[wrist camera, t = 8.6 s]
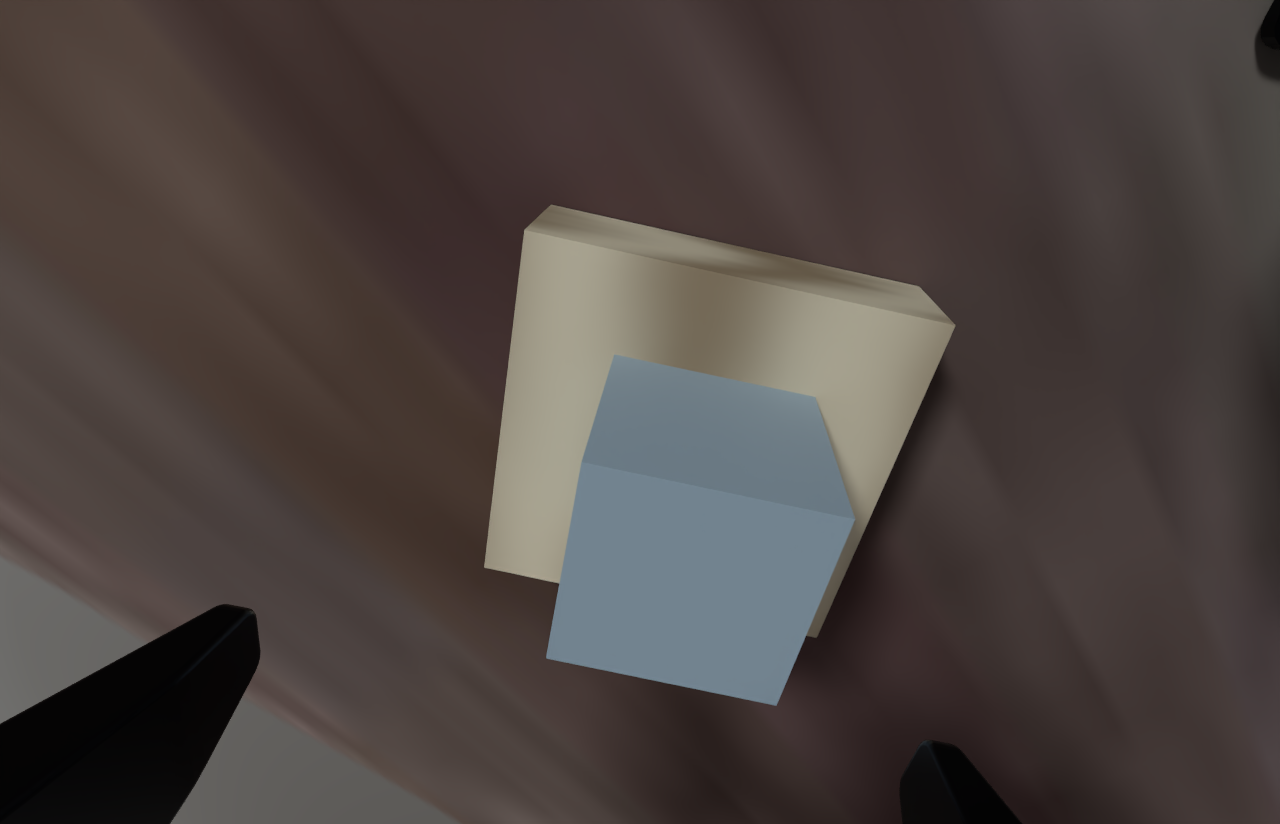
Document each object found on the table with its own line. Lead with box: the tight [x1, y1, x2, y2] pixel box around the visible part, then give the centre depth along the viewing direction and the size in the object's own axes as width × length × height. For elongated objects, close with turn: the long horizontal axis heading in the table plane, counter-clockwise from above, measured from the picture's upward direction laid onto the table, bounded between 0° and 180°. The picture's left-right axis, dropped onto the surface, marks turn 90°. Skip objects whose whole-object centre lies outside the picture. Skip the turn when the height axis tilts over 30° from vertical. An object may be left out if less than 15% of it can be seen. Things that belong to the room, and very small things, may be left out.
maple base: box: [484, 205, 956, 638], centre depth 19 cm, size 10×10×3 cm
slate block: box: [546, 354, 855, 705], centre depth 16 cm, size 5×5×5 cm
